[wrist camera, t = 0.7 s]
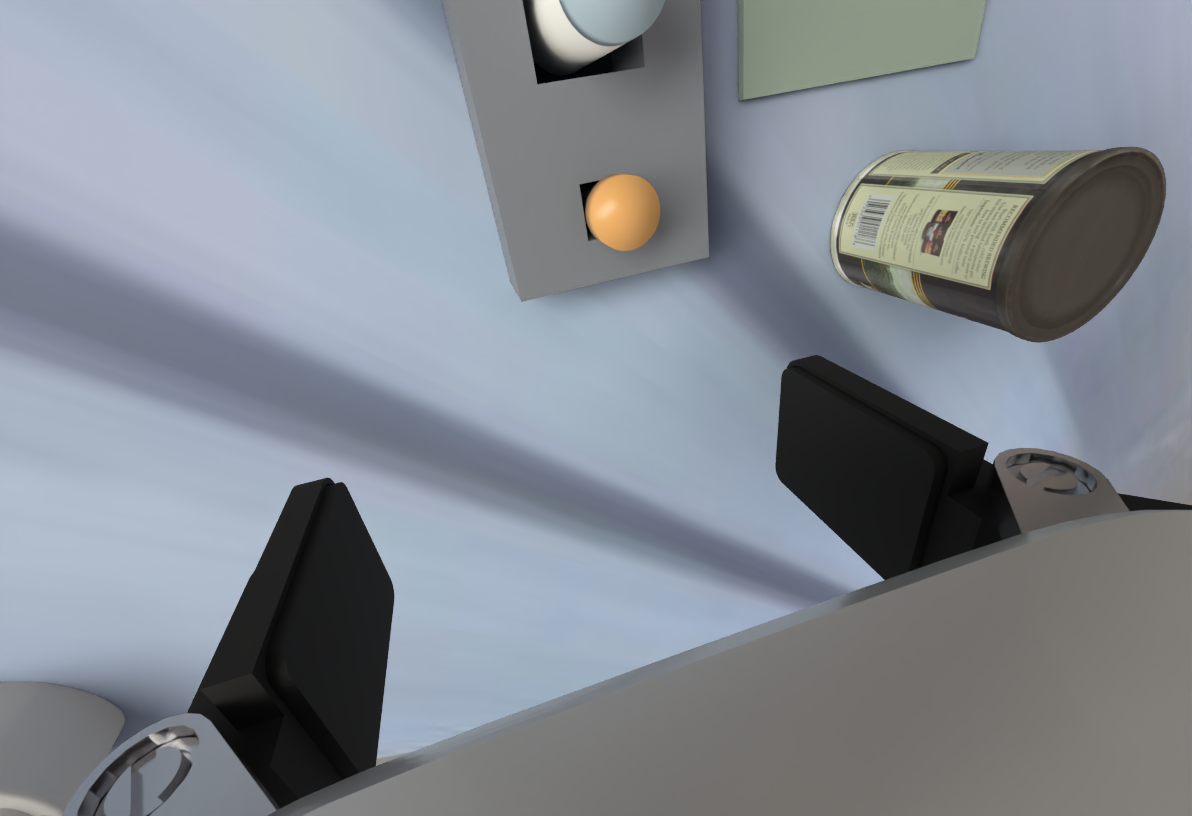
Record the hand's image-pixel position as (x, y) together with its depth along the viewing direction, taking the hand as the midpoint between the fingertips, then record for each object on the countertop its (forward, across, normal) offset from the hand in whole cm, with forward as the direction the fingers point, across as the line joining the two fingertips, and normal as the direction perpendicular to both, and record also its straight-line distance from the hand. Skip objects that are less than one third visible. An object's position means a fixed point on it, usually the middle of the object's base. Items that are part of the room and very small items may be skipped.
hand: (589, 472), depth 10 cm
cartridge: (+24, -7, -12) cm, 28 cm away
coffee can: (+25, -31, +2) cm, 40 cm away
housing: (+25, -7, -8) cm, 27 cm away
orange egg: (+23, -7, -3) cm, 24 cm away
